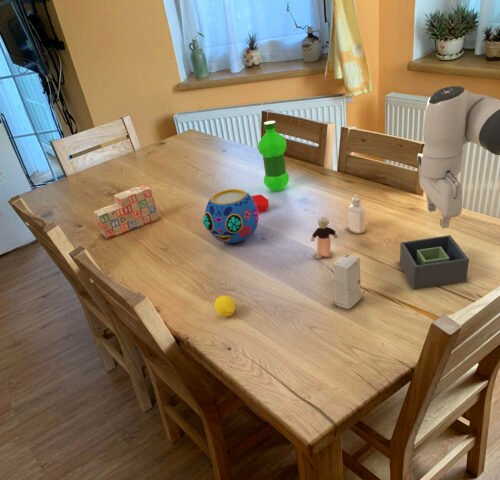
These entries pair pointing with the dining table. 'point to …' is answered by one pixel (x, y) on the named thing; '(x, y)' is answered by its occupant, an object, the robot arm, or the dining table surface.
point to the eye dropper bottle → (356, 216)
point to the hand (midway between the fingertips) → (437, 218)
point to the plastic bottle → (273, 158)
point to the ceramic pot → (231, 216)
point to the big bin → (438, 271)
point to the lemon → (224, 305)
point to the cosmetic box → (347, 281)
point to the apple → (261, 203)
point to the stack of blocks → (127, 211)
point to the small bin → (431, 256)
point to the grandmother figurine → (323, 237)
